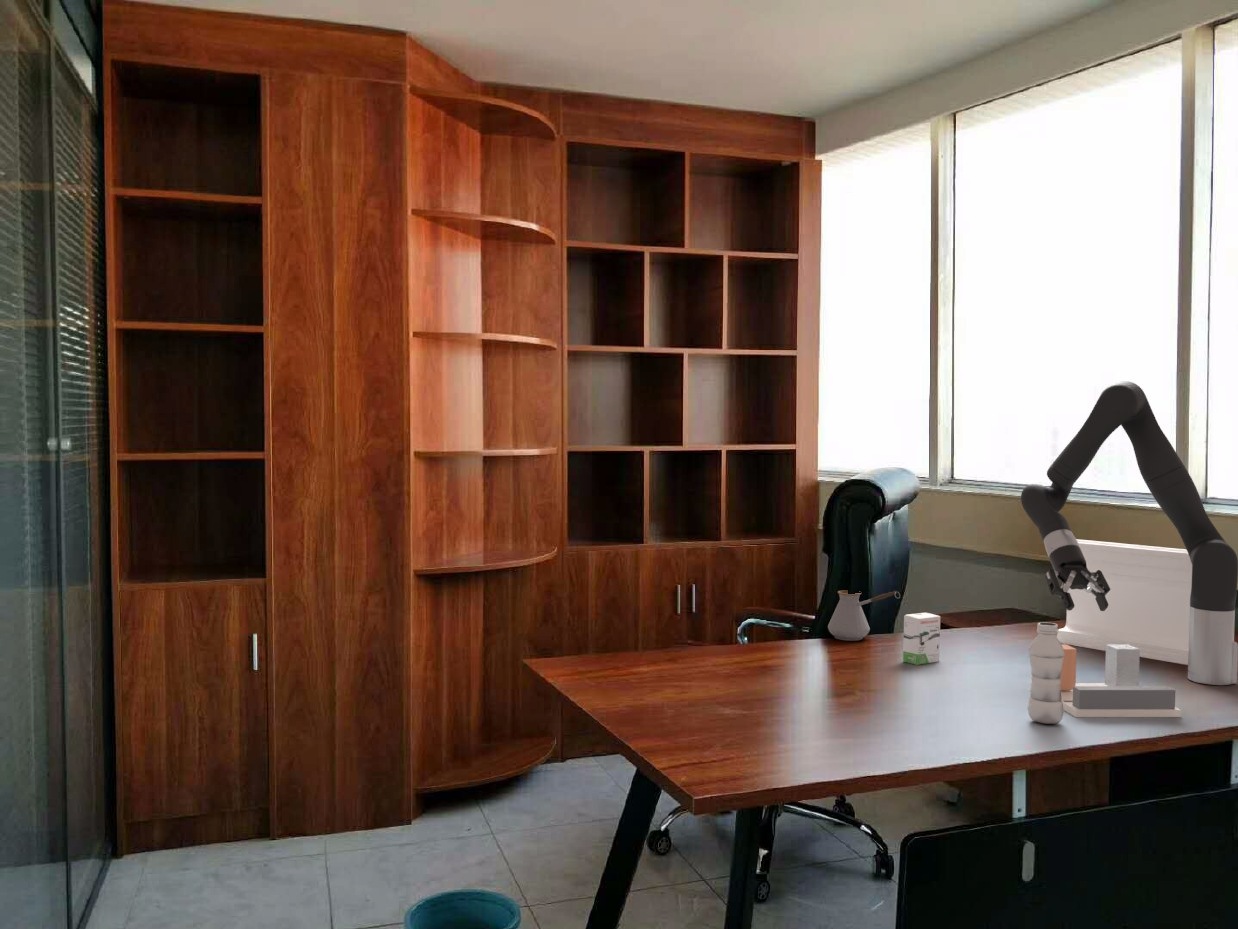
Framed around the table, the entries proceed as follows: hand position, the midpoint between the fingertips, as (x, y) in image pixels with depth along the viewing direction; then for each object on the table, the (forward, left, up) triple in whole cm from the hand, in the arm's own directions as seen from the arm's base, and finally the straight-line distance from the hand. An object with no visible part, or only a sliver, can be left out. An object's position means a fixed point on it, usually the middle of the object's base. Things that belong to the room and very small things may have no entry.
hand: (1088, 609), depth 250 cm
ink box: (+34, -18, -17) cm, 42 cm away
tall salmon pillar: (+14, +16, -15) cm, 25 cm away
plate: (+7, +21, -17) cm, 28 cm away
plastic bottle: (+26, +36, -17) cm, 47 cm away
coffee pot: (+42, -43, -17) cm, 62 cm away
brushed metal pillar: (0, +16, -15) cm, 21 cm away
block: (-25, -30, -17) cm, 43 cm away
